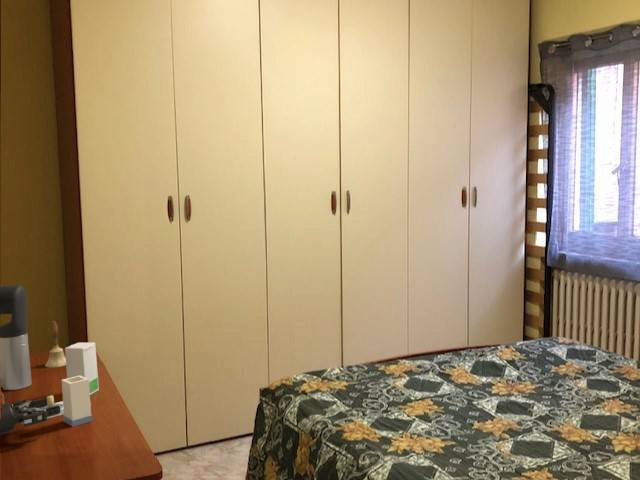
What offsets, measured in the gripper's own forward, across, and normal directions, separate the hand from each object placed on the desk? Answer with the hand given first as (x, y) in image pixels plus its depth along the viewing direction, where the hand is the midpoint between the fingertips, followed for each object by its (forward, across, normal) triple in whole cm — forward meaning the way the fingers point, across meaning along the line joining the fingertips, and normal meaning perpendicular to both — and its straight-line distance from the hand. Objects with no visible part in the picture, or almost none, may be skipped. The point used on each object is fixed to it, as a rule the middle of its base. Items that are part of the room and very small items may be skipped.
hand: (52, 405), depth 195 cm
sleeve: (+7, 0, +6) cm, 9 cm away
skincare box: (+19, +22, +7) cm, 29 cm away
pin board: (+8, +12, +6) cm, 15 cm away
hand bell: (+27, +60, +7) cm, 66 cm away
